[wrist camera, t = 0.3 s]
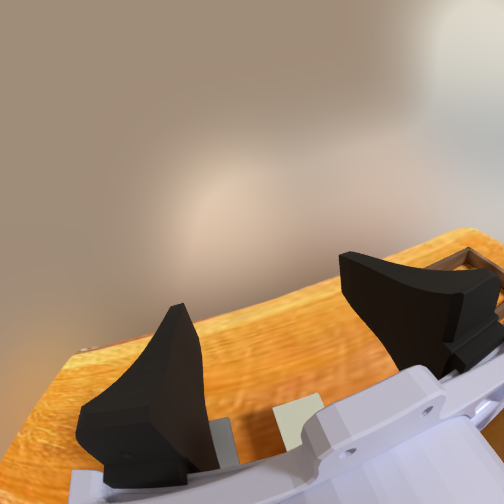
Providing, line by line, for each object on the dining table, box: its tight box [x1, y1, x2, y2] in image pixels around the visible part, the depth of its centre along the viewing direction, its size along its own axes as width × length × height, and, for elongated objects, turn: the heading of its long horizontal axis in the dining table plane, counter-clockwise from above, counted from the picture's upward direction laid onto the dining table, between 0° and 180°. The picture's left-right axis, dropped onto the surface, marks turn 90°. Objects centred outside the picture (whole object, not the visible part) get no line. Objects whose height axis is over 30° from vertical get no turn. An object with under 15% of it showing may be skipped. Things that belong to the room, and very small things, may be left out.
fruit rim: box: [423, 247, 504, 322], centre depth 34 cm, size 15×15×2 cm
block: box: [272, 393, 325, 451], centre depth 21 cm, size 10×4×5 cm, turn 12°
